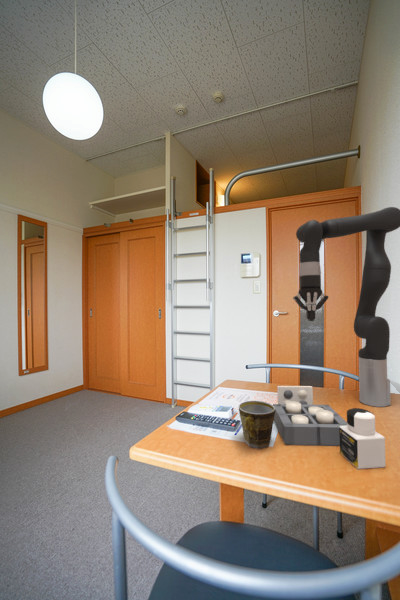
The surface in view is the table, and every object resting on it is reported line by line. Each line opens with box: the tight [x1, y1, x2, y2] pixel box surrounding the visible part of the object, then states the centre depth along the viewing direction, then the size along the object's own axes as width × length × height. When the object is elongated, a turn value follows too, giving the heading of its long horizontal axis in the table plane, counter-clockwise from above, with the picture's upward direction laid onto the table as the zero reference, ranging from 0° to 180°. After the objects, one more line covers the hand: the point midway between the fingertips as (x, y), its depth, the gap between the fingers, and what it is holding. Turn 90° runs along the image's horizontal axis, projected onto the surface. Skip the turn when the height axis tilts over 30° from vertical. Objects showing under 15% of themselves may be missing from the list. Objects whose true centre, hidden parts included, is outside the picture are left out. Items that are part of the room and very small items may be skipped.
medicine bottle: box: [339, 407, 387, 470], centre depth 68 cm, size 7×7×12 cm
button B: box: [316, 410, 334, 424], centre depth 80 cm, size 5×5×3 cm
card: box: [277, 385, 314, 405], centre depth 98 cm, size 12×1×9 cm, turn 86°
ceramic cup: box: [238, 400, 275, 450], centre depth 76 cm, size 13×10×10 cm
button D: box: [292, 415, 308, 424], centre depth 80 cm, size 5×5×3 cm
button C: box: [286, 401, 301, 414], centre depth 87 cm, size 5×5×3 cm
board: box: [272, 403, 347, 447], centre depth 83 cm, size 18×17×5 cm
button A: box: [308, 406, 324, 414], centre depth 87 cm, size 5×5×3 cm
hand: (310, 320), depth 104 cm, fingers closed
